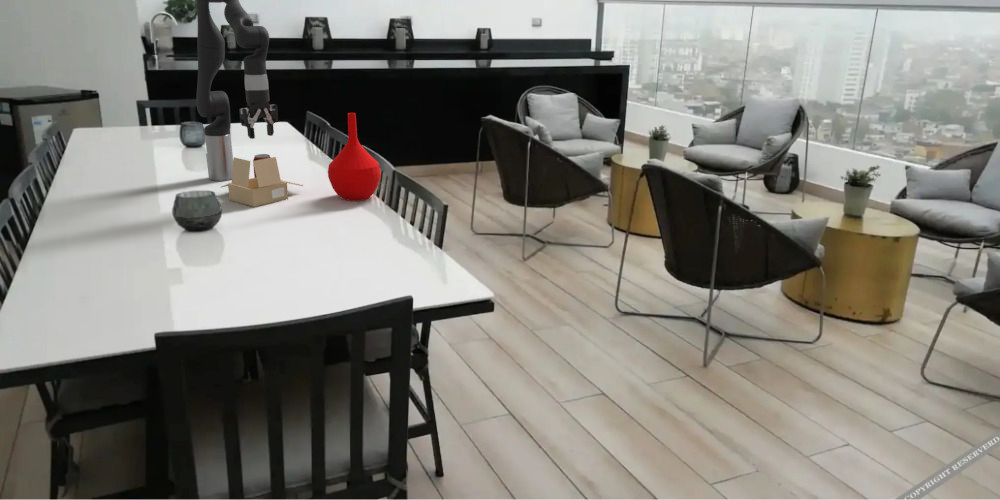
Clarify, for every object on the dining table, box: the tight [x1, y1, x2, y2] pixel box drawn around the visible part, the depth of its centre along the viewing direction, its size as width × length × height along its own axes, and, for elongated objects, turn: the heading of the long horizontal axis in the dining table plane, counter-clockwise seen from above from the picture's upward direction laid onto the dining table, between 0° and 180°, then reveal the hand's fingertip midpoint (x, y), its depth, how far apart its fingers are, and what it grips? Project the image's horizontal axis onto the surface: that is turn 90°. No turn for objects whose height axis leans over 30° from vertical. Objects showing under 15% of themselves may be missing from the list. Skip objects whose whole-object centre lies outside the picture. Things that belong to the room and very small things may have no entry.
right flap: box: [231, 157, 251, 188], centre depth 249 cm, size 9×9×1 cm
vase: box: [327, 112, 382, 202], centre depth 258 cm, size 18×18×30 cm
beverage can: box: [252, 153, 272, 178], centre depth 272 cm, size 7×7×12 cm
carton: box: [219, 177, 304, 208], centre depth 262 cm, size 23×23×6 cm
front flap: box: [252, 156, 282, 187], centre depth 251 cm, size 9×9×1 cm
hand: (261, 136), depth 253 cm, fingers open, 7 cm apart
